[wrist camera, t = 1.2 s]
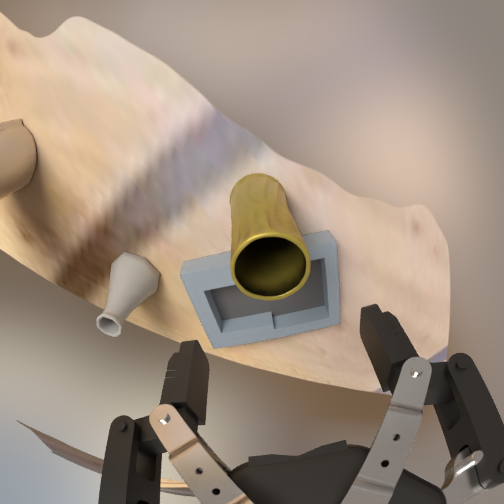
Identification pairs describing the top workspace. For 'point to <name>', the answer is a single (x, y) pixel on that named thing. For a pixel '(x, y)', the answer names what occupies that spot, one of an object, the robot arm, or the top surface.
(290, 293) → the vase
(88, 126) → the top surface
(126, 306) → the flask
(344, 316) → the top surface
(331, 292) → the keyhole board
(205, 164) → the top surface
